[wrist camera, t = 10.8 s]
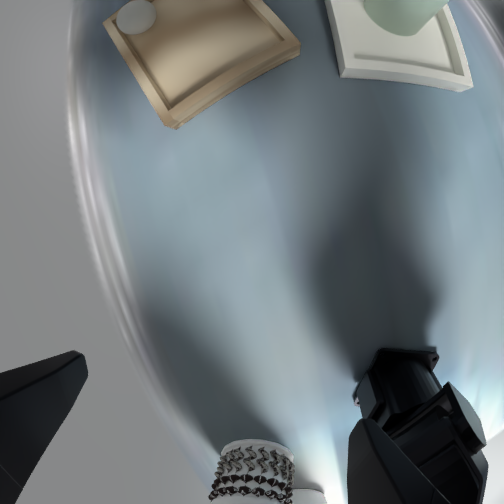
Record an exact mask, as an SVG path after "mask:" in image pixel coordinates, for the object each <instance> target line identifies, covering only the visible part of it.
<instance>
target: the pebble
mask: <svg viewBox="0 0 504 504" xmlns="http://www.w3.org/2000/svg"><path fill="white" fill-rule="evenodd" d="M156 15H157V12H156V9H155V7H154V6H153V4H151V3H150V2H148V1H145V0H135V1H131V2H129V3H127V4H126V5H124V6H123V7H122V8H121V9H120V11H119V12H118V15H117V19H116V22H117V26H118V28H119V29H120V30H121V31H122V32H124V33H126V34H129V35H136V34H140V33H143V32H145V31H147V30H148V29H149V28H150V27H151V26H152V25H153V24H154V22H155V20H156Z"/></svg>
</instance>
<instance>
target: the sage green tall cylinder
mask: <svg viewBox="0 0 504 504" xmlns="http://www.w3.org/2000/svg"><path fill="white" fill-rule="evenodd" d="M449 1H450V0H364V8H365V10H366V13H367V14H368V16H369V17H370V18H371V19H372V20H373V22H375V23H376V24H377V25H378V26H379V27H381V28H382V29H384V30H386V31H388V32H390V33H392V34H395V35H398V36H412V35H415V34H416V33H417V32H418V31H419V30H420V29H421V28H422V27H423V26H424V25H425V24H426V23H427V22H428V21H429V20H430V19H431V18H432V17H433V16H434V15H435V14H436V13H437V12H438V11H439V10H440V9H441V8H443V7H444V6H445V5H446V4H447V3H448V2H449Z"/></svg>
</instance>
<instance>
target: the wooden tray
mask: <svg viewBox="0 0 504 504" xmlns="http://www.w3.org/2000/svg"><path fill="white" fill-rule="evenodd" d="M131 1H135V0H131ZM131 1H129V2H131ZM145 1H148V2H150V3H151V4H153V6H154V7H155V9H156V12H157V15H156V20H155V22H154V24H153V25H152V26H151V27H150V28H149V29H148V30H147V31H145V32H143V33H140V34H136V35H129V34H126V33H124V32H122V31H121V30H120V29H119V28H118V26H117V22H116V19H117V15H118V12H119V11H120V9H121V8H122V7H121V8H120V9H119V10H117V11H116V12H115V13H114V14H112V15H111V16H110V17H109V18H108V19H106V20H105V21H104V22H103V23H102V24H103V25H104V27H105V29H106V30H107V32H108V34H109V35H110V37H111V39H112V40H113V42H114V44H115V45H116V47H117V49H118V50H119V52H120V53H121V55H122V57H123V58H124V60H125V62H126V63H127V65H128V67H129V68H130V70H131V72H132V73H133V75H134V76H135V78H136V80H137V81H138V83H139V85H140V86H141V88H142V90H143V91H144V93H145V94H146V96H147V98H148V99H149V101H150V103H151V104H152V106H153V107H154V109H155V111H156V112H157V114H158V116H159V117H160V119H161V120H162V122H163V124H164V125H165V126H167V127H170V128H173V129H176V130H177V129H178V128H179V127H181V126H182V125H183V124H185V123H186V122H188V121H189V120H190V119H192V118H193V117H195V116H196V115H198V114H199V113H200V112H202V111H203V110H205V109H206V108H208V107H209V106H211V105H212V104H214V103H215V102H217V101H219V100H220V99H222V98H223V97H225V96H226V95H228V94H230V93H231V92H233V91H235V90H236V89H238V88H240V87H241V86H243V85H245V84H246V83H248V82H250V81H251V80H253V79H255V78H257V77H258V76H260V75H262V74H264V73H266V72H268V71H269V70H271V69H273V68H275V67H277V66H279V65H281V64H283V63H285V62H287V61H289V60H291V59H293V58H295V57H297V56H299V55H300V47H301V43H300V42H299V40H298V39H297V38H296V37H295V36H294V34H293V33H292V32H291V31H290V30H289V29H288V28H287V26H286V25H285V24H284V23H283V22H282V21H281V20H280V19H279V18H278V17H277V15H276V14H275V13H274V12H273V11H272V10H271V9H270V8H269V7H268V6H267V5H266V4H265V3H264V2H263V1H262V0H145ZM129 2H128V3H129ZM126 4H127V3H126ZM126 4H125V5H126Z"/></svg>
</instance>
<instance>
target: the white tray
mask: <svg viewBox="0 0 504 504" xmlns="http://www.w3.org/2000/svg"><path fill="white" fill-rule="evenodd" d="M324 2H325V6H326V10H327V14H328V18H329V23H330V27H331V32H332V37H333V41H334V46H335V52H336V57H337V63H338V68H339V74H340V78H358V79H374V80H385V81H395V82H403V83H411V84H418V85H424V86H430V87H436V88H441V89H446V90H451V91H456V92H463V91H465V90H468V89H470V88H473V83H472V78H471V74H470V70H469V66H468V62H467V59H466V55H465V52H464V48H463V45H462V42H461V39H460V36H459V33H458V30H457V27H456V25H455V22H454V19H453V17H452V14H451V12H450V9H449V7H448V5H447V4H446V5H445V6H444V7H443V8H441V9H440V10H439V11H438V12H437V13H436V14H435V15H434V16H433V17H432V18H431V19H430V20H429V21H428V22H427V23H426V24H425V25H424V26H423V27H422V28H421V29H420V30H419V31H418V32H417V33H416V34H415V35H412V36H398V35H395V34H392V33H390V32H388V31H386V30H384V29H382V28H381V27H379V26H378V25H377V24H376V23H375V22H373V20H372V19H371V18H370V17H369V16H368V14H367V13H366V10H365V8H364V0H324Z"/></svg>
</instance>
